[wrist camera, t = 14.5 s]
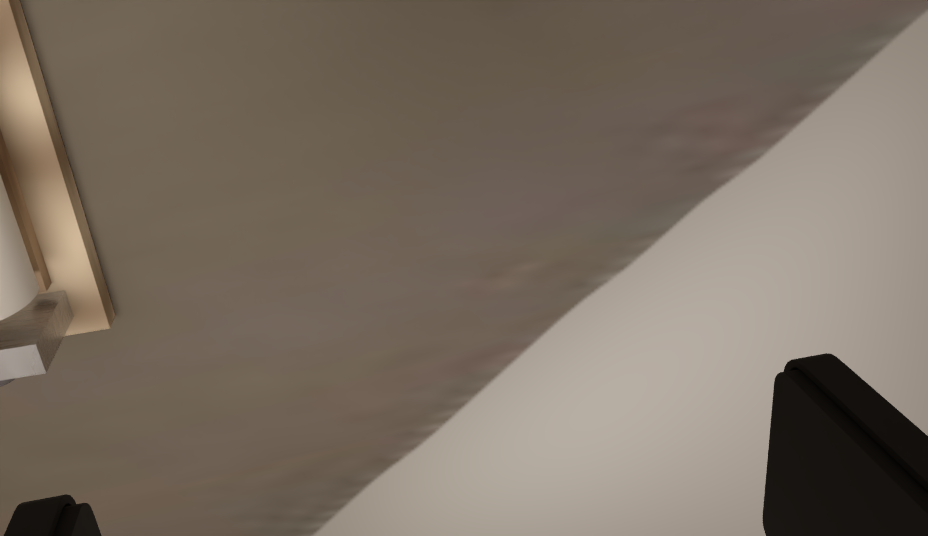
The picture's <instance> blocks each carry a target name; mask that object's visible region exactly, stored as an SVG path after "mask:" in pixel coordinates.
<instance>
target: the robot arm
mask: <svg viewBox="0 0 928 536" xmlns="http://www.w3.org/2000/svg"><path fill="white" fill-rule="evenodd" d="M763 526H764V530H765V533H766V536H928V436H927V435H926V434H925V433H923V432H922V431H921V430H920V429H919V428H918V427H917V426H915V425H914V424H913V423H912V422H911V421H910V420H909V419H907V418H906V417H905V416H904V415H903V414H902V413H900V412H899V411H898V410H897V409H896V408H895V407H894V406H892V405H891V404H890V403H889V402H888V401H887V400H885V399H884V398H883V397H882V396H881V395H880V394H879V393H877V392H876V391H875V390H874V389H873V388H872V387H871V386H869V385H868V384H867V383H866V382H865V381H864V380H862V379H861V378H860V377H859V376H858V375H857V374H855V373H854V372H853V371H852V370H851V369H850V368H849V367H847V366H846V365H845V364H844V363H843V362H842V361H840V360H839V359H838V358H837V357H835V356H834V355H832V354H821V355H816V356H810V357H805V358H799V359H794V360H791V361H789V362H788V363H787V364H786V366H785V369H784V372H780V373H779V374H777V376H776V378H775V382H774V393H773V405H772V416H771V428H770V440H769V450H768V462H767V474H766V485H765V497H764V508H763ZM4 536H101V533H100V530H99V528H98V525H97V522H96V519H95V516H94V514H93V511H92V509H91V507H90V505H89V504H88V503H81V504H76V502H75V500H74V499H73V498H72V497H71V496H70V495H61V496H56V497H50V498H45V499H40V500H34V501H29V502H23V503H21V504H19V505H18V506H17V508H16V510H15V511H14V514H13V516H12V518H11V520H10V523H9V525H8V527H7V530H6V532H5V534H4Z"/></svg>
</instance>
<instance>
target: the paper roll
mask: <svg viewBox="0 0 928 536" xmlns="http://www.w3.org/2000/svg"><path fill="white" fill-rule="evenodd" d="M38 291H39V286H38V283H37V280H36V277H35V274H34V271H33V268H32V265H31V262H30V259H29V256H28V254H27V251H26V248H25V245H24V242H23V239H22V236H21V233H20V230H19V227H18V224H17V221H16V219H15V216H14V213H13V210H12V207H11V204H10V201H9V198H8V195H7V192H6V189H5V186H4V183H3V181H2V178H1V175H0V321H1V320H3V319H5V318H7V317H9V316H11V315H13V314H15V313H16V312H18V311H20V310H21V309H22V308H24V307H25V306H27V305H28V304H29V303H30V302H31V301H32V300H33V299H34V298H35V297H36V295H37V294H38Z"/></svg>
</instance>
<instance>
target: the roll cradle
mask: <svg viewBox="0 0 928 536" xmlns="http://www.w3.org/2000/svg"><path fill="white" fill-rule="evenodd" d="M0 175H1V178H2V181H3V183H4V186H5V189H6V192H7V195H8V198H9V201H10V204H11V207H12V210H13V213H14V216H15V219H16V221H17V224H18V227H19V230H20V233H21V236H22V239H23V242H24V245H25V248H26V251H27V254H28V256H29V259H30V262H31V265H32V268H33V271H34V274H35V277H36V280H37V283H38V286H39V291H38V294H37V295H36V297H35V298H34V299H33V300H32V301H31V302H30V303H29V304H28V305H27V306H25V307H24V308H22V309H21V310H20V311H18V312H16V313H15V314H13V315H11V316H9V317H7V318H5V319H3V320H1V321H0V386H3V385H5V384H8V383H10V382H11V381H13V380H15V379H16V378H20V377H26V376H32V375H38V374H44V373H46V372H47V370H48V368H49V366H50V364H51V362H52V360H53V358H54V356H55V354H56V352H57V350H58V348H59V346H60V344H61V342H62V340H63V338H64V336H67V335H73V334H79V333H85V332H92V331H98V330H104V329H110V327H111V325H112V322H113V320H114V317H115V312H114V309H113V306H112V302H111V299H110V296H109V293H108V289H107V286H106V283H105V279H104V276H103V273H102V270H101V266H100V263H99V260H98V256H97V253H96V250H95V247H94V243H93V240H92V237H91V233H90V230H89V227H88V223H87V220H86V217H85V214H84V210H83V207H82V204H81V200H80V197H79V194H78V191H77V187H76V184H75V181H74V177H73V174H72V171H71V167H70V164H69V161H68V158H67V154H66V151H65V148H64V144H63V141H62V138H61V135H60V131H59V128H58V125H57V121H56V118H55V115H54V112H53V108H52V105H51V102H50V98H49V95H48V92H47V88H46V85H45V82H44V79H43V75H42V72H41V69H40V65H39V62H38V59H37V56H36V52H35V49H34V46H33V42H32V39H31V36H30V32H29V29H28V26H27V23H26V19H25V16H24V13H23V9H22V6H21V3H20V0H0Z"/></svg>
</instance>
